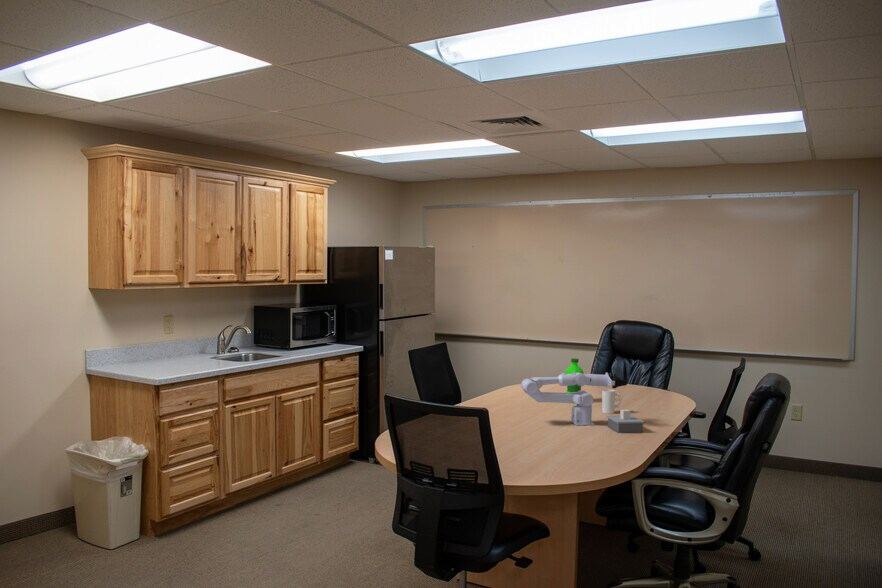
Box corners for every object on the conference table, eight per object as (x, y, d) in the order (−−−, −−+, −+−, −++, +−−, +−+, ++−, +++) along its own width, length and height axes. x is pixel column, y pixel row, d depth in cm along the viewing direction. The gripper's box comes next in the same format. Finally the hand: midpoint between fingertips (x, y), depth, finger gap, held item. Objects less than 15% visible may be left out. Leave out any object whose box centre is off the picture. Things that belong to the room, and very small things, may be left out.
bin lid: (618, 423, 302) (618, 413, 302) (606, 417, 315) (606, 407, 315) (644, 423, 304) (644, 413, 304) (631, 416, 317) (632, 407, 317)
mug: (601, 413, 345) (602, 391, 344) (601, 411, 351) (601, 388, 351) (621, 414, 343) (622, 392, 342) (620, 412, 349) (621, 389, 349)
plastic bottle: (581, 400, 379) (582, 357, 378) (583, 404, 368) (584, 360, 367) (564, 400, 380) (565, 357, 379) (565, 403, 369) (566, 359, 368)
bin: (618, 433, 303) (618, 423, 303) (607, 426, 315) (608, 417, 315) (642, 432, 305) (642, 422, 305) (631, 426, 317) (631, 417, 317)
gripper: (602, 374, 314) (629, 376, 315) (592, 369, 328) (618, 371, 330) (601, 389, 314) (628, 390, 315) (591, 383, 329) (617, 385, 330)
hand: (623, 381), depth 323 cm, fingers open, 7 cm apart
